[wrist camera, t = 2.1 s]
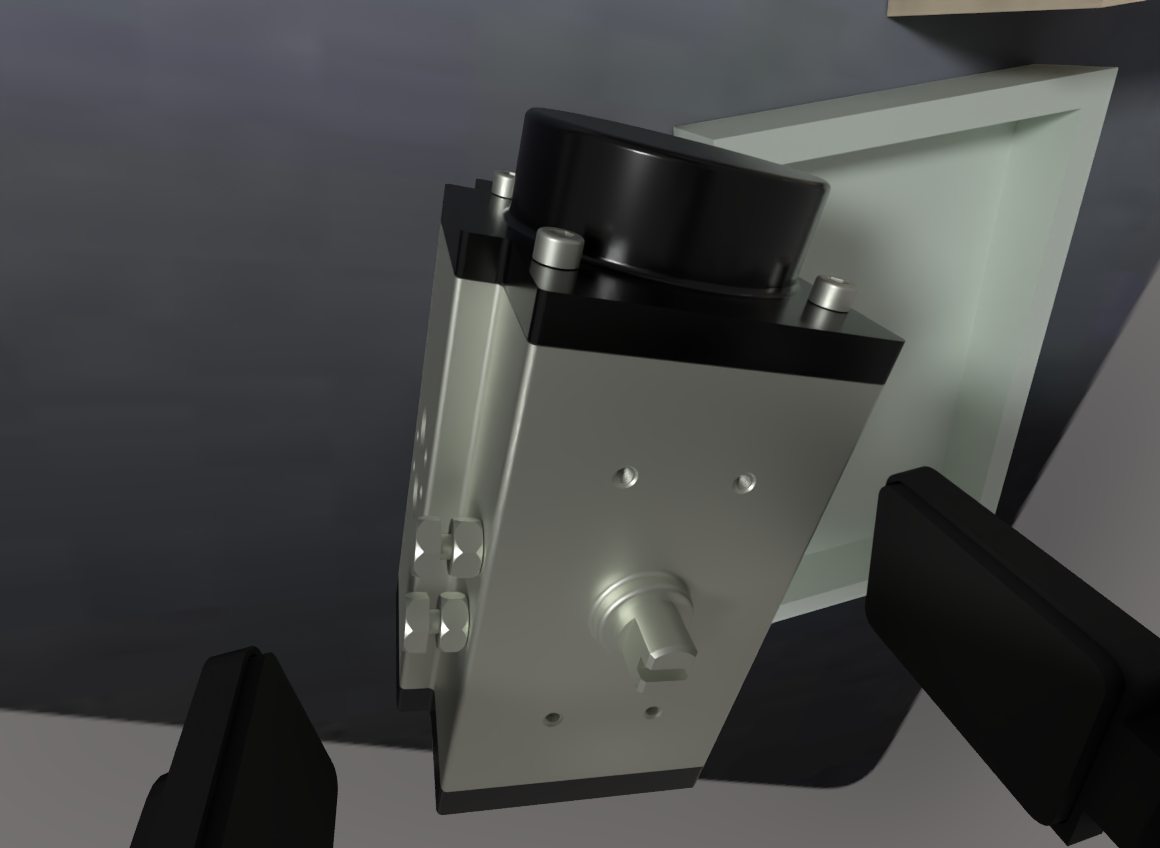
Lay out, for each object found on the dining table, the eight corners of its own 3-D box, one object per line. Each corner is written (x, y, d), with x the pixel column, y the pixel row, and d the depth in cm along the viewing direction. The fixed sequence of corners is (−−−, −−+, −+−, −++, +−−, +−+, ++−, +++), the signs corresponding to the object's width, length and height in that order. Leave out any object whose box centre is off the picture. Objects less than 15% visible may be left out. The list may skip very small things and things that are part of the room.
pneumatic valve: (650, 119, 16) (1049, 250, 6) (557, 499, 22) (696, 896, 12) (425, 66, 15) (492, 130, 5) (383, 493, 20) (372, 952, 10)
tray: (673, 126, 17) (713, 140, 15) (1035, 63, 18) (1118, 67, 16) (693, 588, 25) (720, 638, 23) (936, 520, 27) (981, 561, 25)
